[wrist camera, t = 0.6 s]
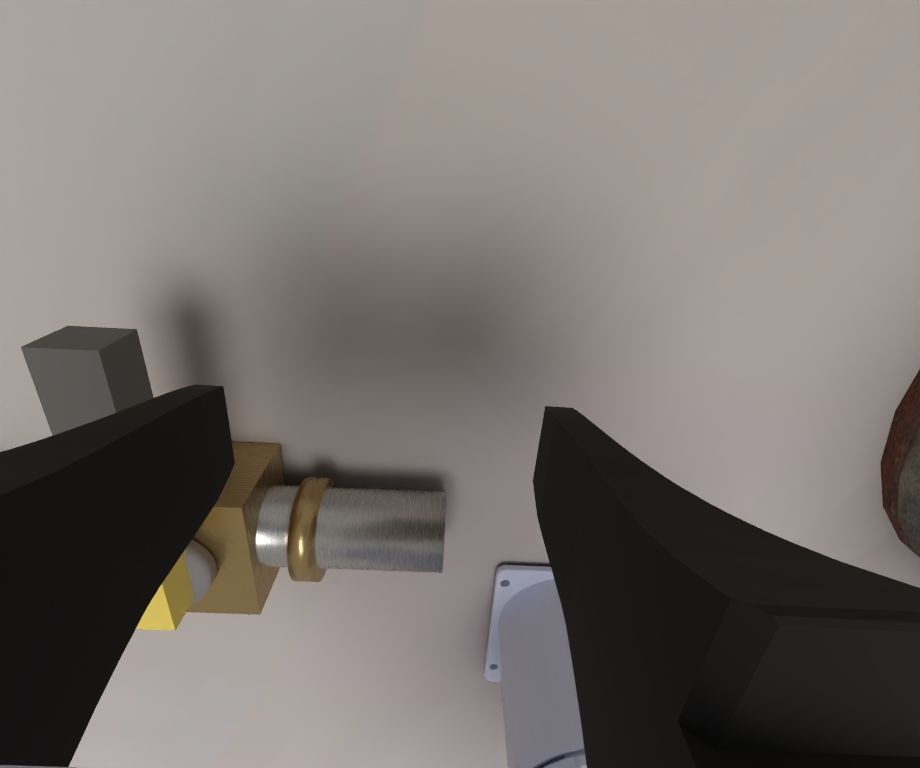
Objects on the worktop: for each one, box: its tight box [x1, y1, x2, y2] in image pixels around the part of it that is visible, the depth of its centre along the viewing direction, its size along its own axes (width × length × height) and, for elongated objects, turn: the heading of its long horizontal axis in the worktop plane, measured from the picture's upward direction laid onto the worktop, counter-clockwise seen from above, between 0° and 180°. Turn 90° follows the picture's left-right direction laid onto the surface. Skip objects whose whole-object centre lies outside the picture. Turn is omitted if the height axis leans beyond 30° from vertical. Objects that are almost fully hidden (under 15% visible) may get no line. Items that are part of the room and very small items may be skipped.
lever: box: [21, 326, 217, 630], centre depth 17 cm, size 12×3×2 cm, turn 177°
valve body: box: [186, 442, 446, 614], centre depth 22 cm, size 22×6×5 cm, turn 87°
